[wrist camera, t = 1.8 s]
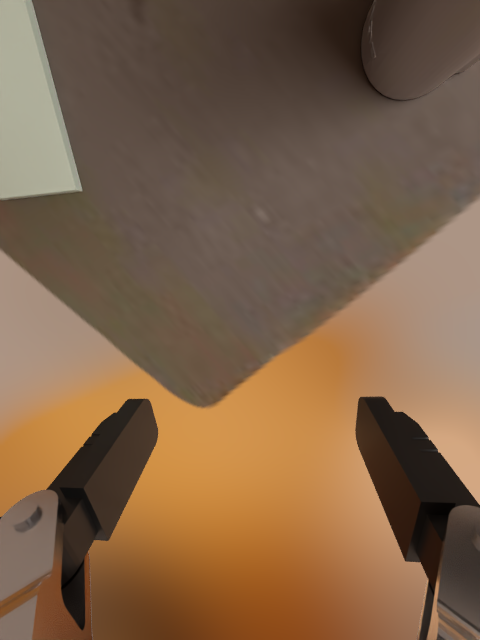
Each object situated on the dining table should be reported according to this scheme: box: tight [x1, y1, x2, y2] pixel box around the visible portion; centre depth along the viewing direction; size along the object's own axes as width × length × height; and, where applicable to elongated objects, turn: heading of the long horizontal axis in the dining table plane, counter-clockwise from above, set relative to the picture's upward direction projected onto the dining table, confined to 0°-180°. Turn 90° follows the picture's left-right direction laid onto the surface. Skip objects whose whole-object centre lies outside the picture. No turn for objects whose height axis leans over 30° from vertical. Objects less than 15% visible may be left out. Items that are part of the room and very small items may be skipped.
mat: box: [0, 0, 82, 200], centre depth 25 cm, size 10×16×1 cm, turn 5°
